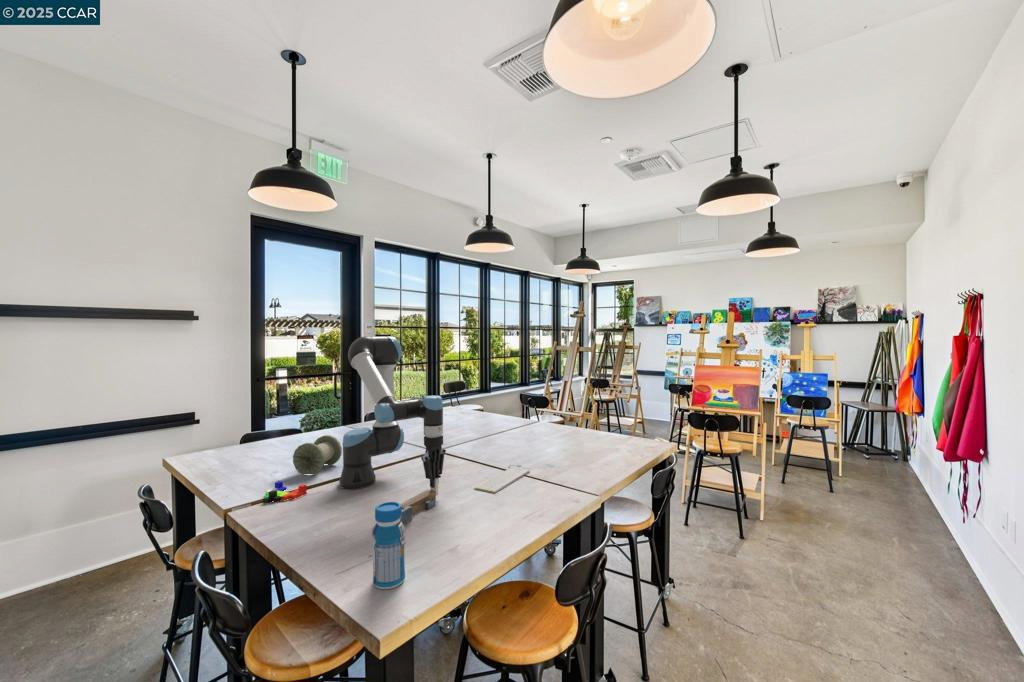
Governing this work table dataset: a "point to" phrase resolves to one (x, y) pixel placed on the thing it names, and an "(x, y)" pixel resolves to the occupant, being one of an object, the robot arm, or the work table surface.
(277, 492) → the building blocks
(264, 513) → the work table surface
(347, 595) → the work table surface
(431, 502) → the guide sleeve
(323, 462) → the spool
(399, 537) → the beverage bottle
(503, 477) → the baseboard
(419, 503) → the brown wooden bar
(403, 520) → the end cap
